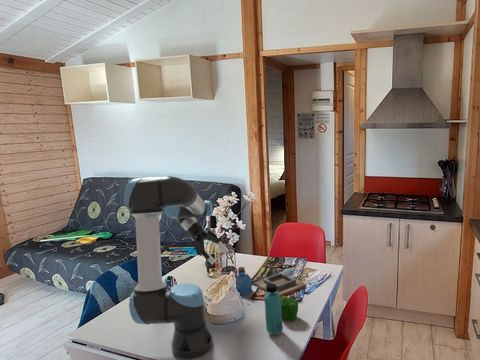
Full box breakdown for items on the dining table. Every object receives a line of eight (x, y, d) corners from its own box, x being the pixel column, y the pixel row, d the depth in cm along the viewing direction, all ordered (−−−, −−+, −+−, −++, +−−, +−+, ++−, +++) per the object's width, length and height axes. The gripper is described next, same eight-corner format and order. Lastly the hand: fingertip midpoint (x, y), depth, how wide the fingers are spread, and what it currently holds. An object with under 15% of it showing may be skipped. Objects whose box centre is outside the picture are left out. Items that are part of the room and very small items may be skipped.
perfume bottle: (251, 290, 179) (250, 266, 177) (245, 295, 174) (243, 271, 172) (241, 287, 182) (239, 264, 180) (234, 293, 177) (232, 269, 175)
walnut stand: (305, 286, 178) (305, 280, 177) (276, 298, 169) (276, 291, 168) (282, 274, 193) (282, 268, 192) (254, 285, 184) (253, 278, 183)
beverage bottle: (278, 340, 138) (275, 290, 134) (263, 335, 141) (259, 287, 138) (286, 330, 143) (283, 283, 140) (271, 326, 147) (267, 280, 143)
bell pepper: (298, 312, 156) (297, 290, 154) (299, 323, 148) (298, 300, 146) (278, 312, 157) (276, 291, 155) (278, 323, 148) (277, 300, 147)
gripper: (201, 223, 197) (228, 252, 193) (173, 239, 175) (203, 272, 171) (208, 214, 194) (236, 244, 190) (181, 229, 172) (212, 263, 168)
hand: (220, 257), depth 180 cm, fingers open, 13 cm apart
